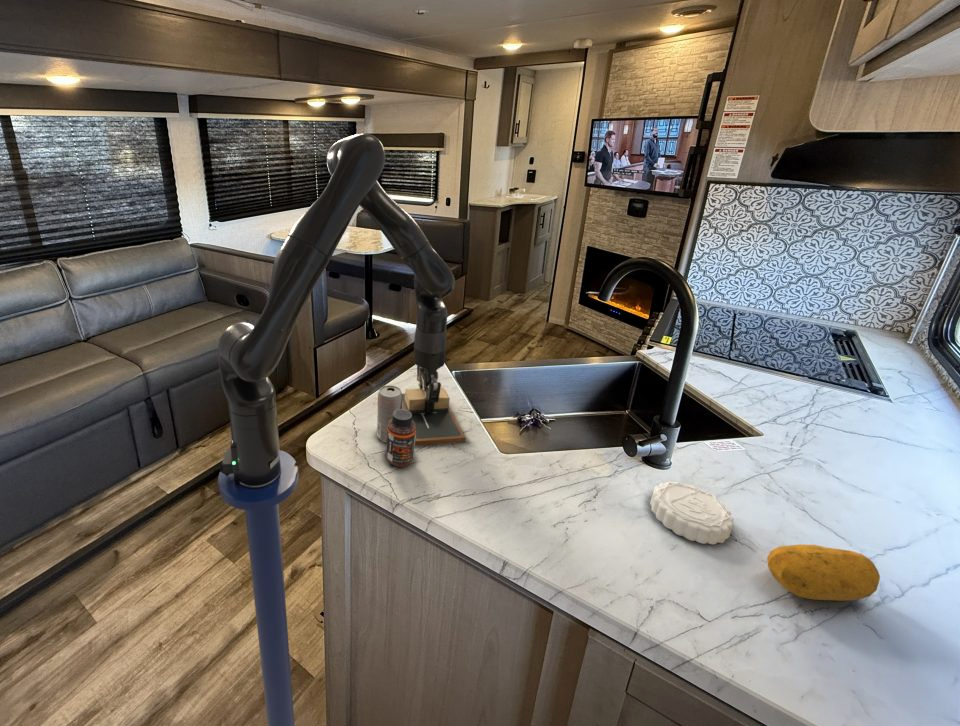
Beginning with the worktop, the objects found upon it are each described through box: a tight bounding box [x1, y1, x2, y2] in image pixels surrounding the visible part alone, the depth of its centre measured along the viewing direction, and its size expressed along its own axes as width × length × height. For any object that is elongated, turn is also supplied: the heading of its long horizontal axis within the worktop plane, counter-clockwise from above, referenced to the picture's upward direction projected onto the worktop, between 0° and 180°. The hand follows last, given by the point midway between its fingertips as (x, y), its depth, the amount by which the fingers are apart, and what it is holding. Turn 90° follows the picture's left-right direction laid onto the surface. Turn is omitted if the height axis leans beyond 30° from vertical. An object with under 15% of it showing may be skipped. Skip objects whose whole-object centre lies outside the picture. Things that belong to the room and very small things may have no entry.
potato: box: [766, 544, 881, 602], centre depth 69 cm, size 7×14×7 cm, turn 85°
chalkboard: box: [402, 393, 467, 447], centre depth 112 cm, size 12×20×1 cm, turn 7°
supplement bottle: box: [385, 409, 416, 468], centre depth 96 cm, size 6×6×11 cm
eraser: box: [404, 386, 450, 414], centre depth 114 cm, size 10×5×4 cm, turn 96°
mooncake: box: [649, 481, 735, 545], centre depth 83 cm, size 12×12×4 cm
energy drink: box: [376, 384, 403, 444], centre depth 104 cm, size 5×5×12 cm
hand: (426, 406), depth 115 cm, fingers closed on eraser, 5 cm apart
